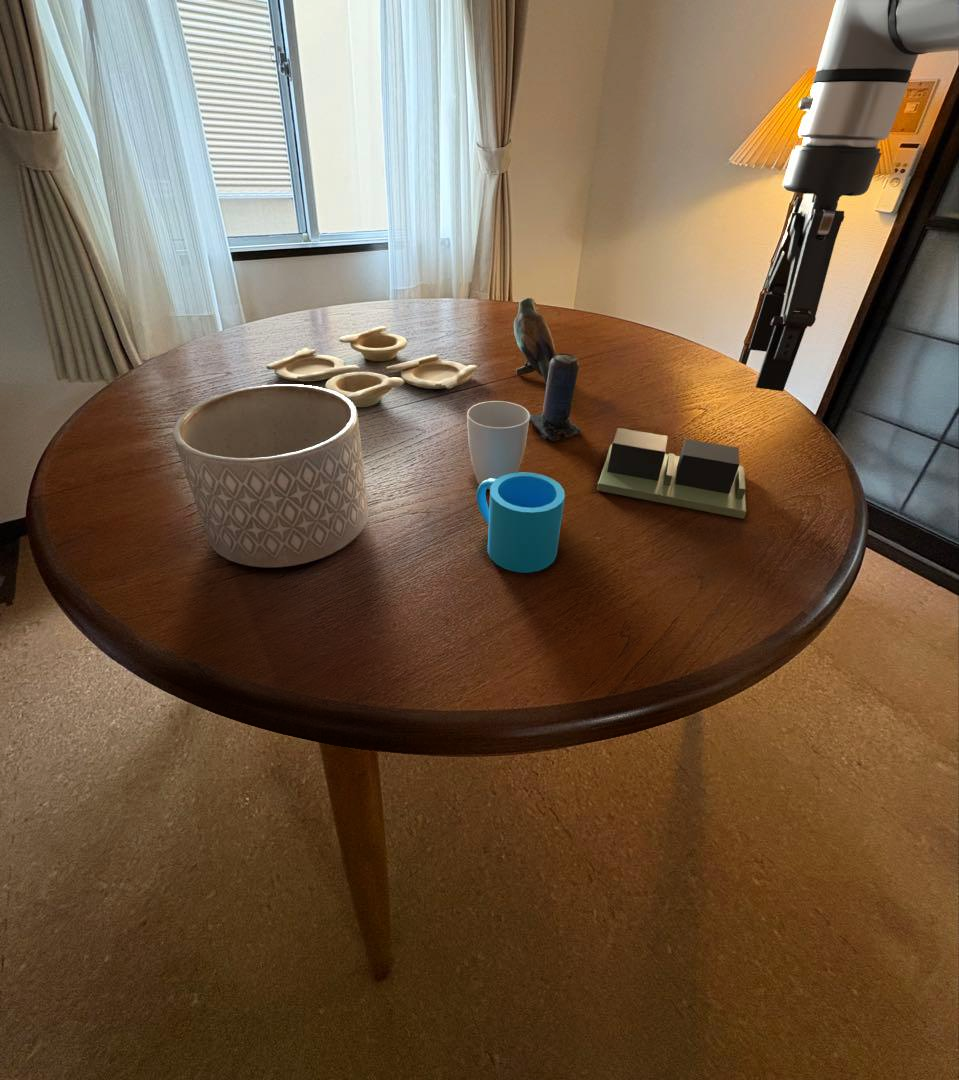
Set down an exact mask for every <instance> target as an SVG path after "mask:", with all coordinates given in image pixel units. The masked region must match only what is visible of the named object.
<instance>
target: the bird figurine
mask: <svg viewBox="0 0 959 1080" xmlns="http://www.w3.org/2000/svg"><path fill="white" fill-rule="evenodd" d="M536 305H537V302H536V301H535V299H533V298H532V297H525V298H523V299H521V300H520V301H519V303H518V311H517V312H518V313H517V316H516V317H514V320H513V333H514V339H515V341H516V343H517V346H518V348H519V351H520V352H521V353H522V355H523V357H524V358H525V359H526V360H525V362H524V364H523V366H521V367H518V368H516V369H515V373H516V375H517V376H522V375H525V374H528V373H533V372H535V371H536V373H538V374H539V375H540V376H541V378H543V380H544V383H545V385H547V378H548V372H549V365H550V361H551V359H552V358H553V357H554V355H555V354H557V351H556V348H555V344H554V339H553V336H552V333H551V330H550V328H549V326H548V323H547V319H546V317H545V316H543V315H542V314H541V313H539V312H538V311H537V310H536ZM528 363H529V364H528Z"/></svg>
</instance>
